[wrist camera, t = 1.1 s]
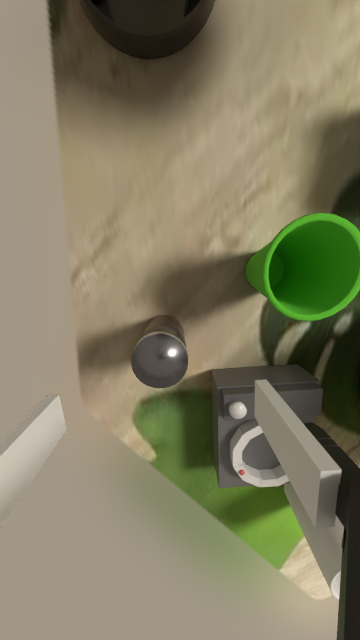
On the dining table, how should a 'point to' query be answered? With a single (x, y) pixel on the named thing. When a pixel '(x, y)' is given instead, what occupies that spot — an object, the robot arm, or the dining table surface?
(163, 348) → the lens
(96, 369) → the dining table surface
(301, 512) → the mug
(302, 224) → the cup
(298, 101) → the dining table surface
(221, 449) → the camera body
